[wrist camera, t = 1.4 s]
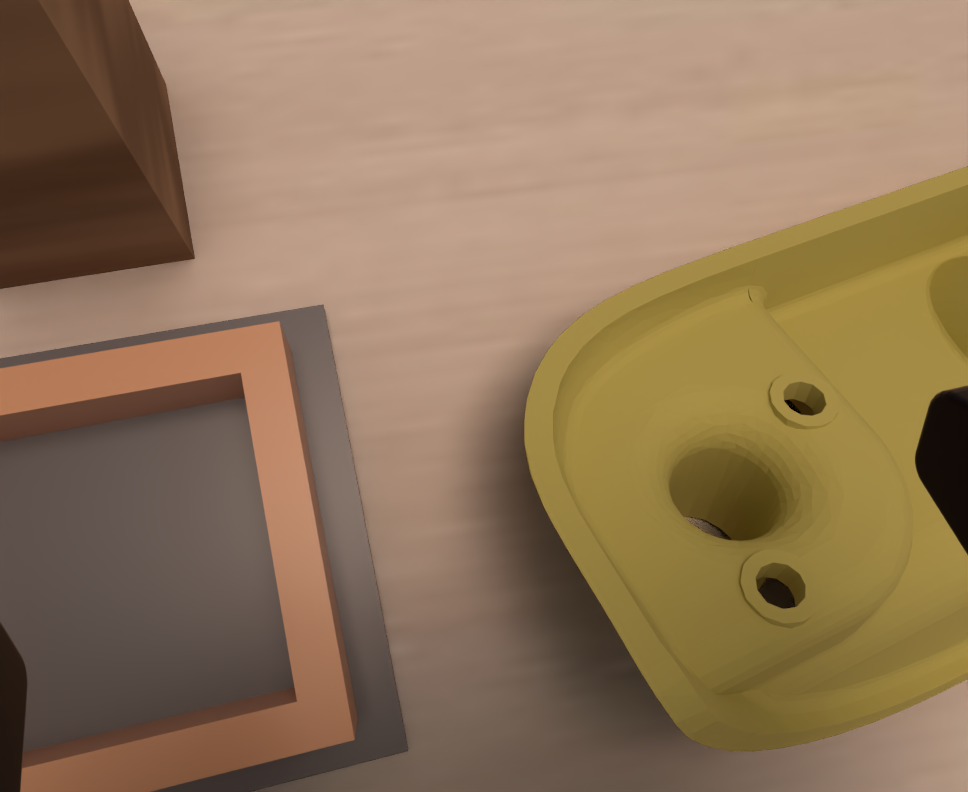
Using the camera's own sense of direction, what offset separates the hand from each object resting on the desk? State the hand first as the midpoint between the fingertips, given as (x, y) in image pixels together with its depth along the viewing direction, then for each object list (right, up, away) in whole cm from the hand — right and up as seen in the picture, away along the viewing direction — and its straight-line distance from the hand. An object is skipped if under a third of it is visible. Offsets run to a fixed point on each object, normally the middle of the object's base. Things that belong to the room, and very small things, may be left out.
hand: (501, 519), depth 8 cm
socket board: (-9, -3, +12) cm, 15 cm away
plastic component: (+10, 0, +16) cm, 19 cm away
